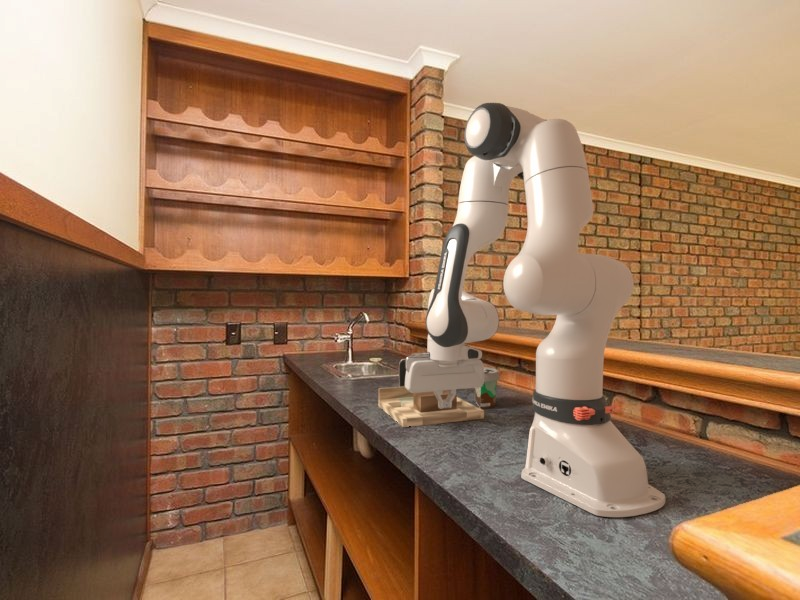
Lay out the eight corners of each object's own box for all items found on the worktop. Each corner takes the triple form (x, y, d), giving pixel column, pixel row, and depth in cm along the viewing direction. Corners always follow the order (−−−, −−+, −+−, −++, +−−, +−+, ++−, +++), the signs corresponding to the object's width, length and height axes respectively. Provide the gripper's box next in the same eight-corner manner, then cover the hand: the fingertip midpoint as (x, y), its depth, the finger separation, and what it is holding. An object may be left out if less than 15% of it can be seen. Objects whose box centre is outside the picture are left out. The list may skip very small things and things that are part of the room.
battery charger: (420, 393, 133) (420, 357, 133) (421, 396, 129) (421, 359, 129) (398, 393, 133) (398, 357, 133) (398, 396, 129) (399, 359, 129)
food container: (503, 411, 114) (504, 374, 114) (481, 410, 114) (481, 374, 114) (494, 399, 126) (494, 366, 126) (474, 399, 126) (474, 366, 126)
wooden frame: (484, 418, 107) (484, 398, 107) (403, 427, 100) (403, 406, 99) (448, 399, 126) (448, 382, 126) (378, 405, 118) (378, 388, 118)
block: (456, 409, 108) (456, 393, 108) (420, 412, 105) (420, 396, 105) (447, 404, 113) (448, 389, 113) (413, 407, 110) (413, 392, 109)
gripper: (410, 355, 96) (410, 415, 97) (487, 351, 103) (487, 407, 104) (400, 351, 102) (400, 408, 103) (474, 348, 109) (474, 401, 110)
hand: (444, 407), depth 103 cm, fingers closed
